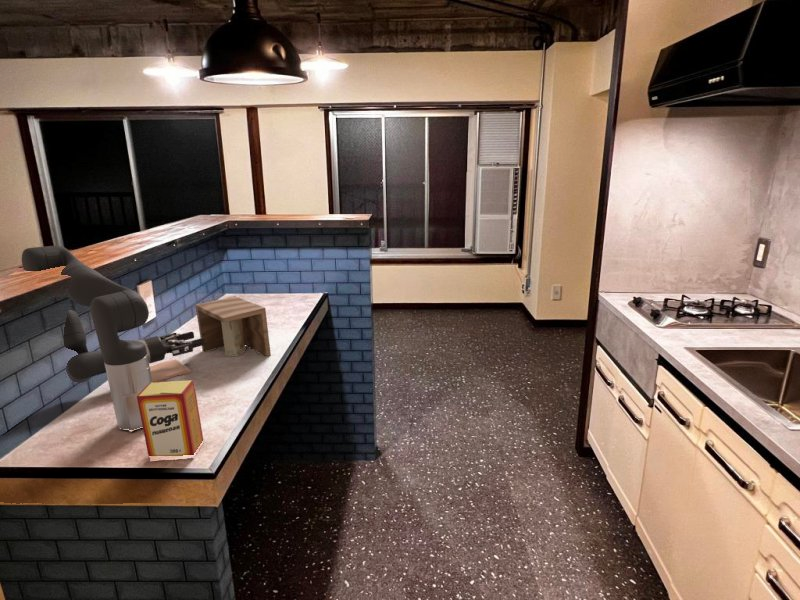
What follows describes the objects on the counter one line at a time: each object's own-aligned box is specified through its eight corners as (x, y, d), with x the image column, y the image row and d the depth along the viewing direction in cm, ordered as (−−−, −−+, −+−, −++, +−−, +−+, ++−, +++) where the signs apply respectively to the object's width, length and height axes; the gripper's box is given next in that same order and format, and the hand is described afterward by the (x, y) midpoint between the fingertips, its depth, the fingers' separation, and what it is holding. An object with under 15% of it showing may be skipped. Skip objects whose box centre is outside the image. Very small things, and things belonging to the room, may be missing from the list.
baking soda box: (149, 461, 107) (136, 394, 103) (161, 445, 114) (149, 381, 109) (194, 459, 108) (182, 391, 103) (203, 442, 114) (193, 378, 110)
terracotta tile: (189, 371, 154) (189, 369, 153) (148, 384, 146) (148, 381, 146) (175, 361, 162) (175, 359, 162) (136, 372, 154) (135, 370, 154)
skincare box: (237, 357, 164) (232, 322, 161) (225, 356, 165) (220, 321, 162) (246, 349, 170) (242, 315, 167) (235, 349, 171) (230, 315, 168)
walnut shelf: (270, 355, 164) (265, 307, 160) (230, 368, 155) (223, 318, 151) (240, 340, 180) (234, 296, 175) (202, 350, 171) (195, 304, 166)
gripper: (150, 346, 141) (206, 332, 152) (135, 334, 151) (188, 321, 162) (154, 370, 144) (209, 354, 154) (139, 357, 154) (191, 343, 164)
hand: (198, 337), depth 158 cm, fingers open, 8 cm apart
